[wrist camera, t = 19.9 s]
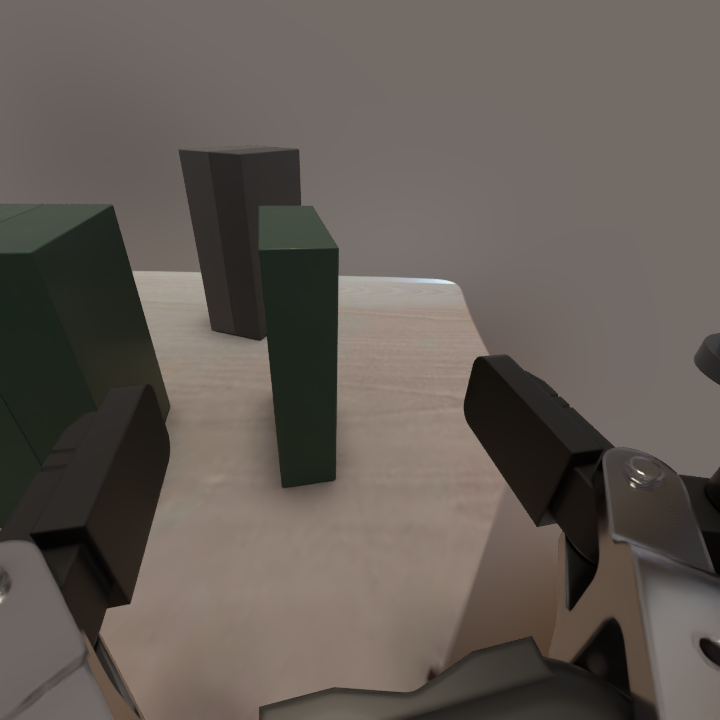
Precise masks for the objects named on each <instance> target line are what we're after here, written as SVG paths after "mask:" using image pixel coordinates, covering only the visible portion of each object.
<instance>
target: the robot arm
mask: <svg viewBox="0 0 720 720" xmlns="http://www.w3.org/2000/svg"><path fill="white" fill-rule="evenodd" d="M464 414H465V418H466V421H467V423H468V425H469V426H470V428H471V429H472V431H473V432H474V434H475V435H476V437H477V438H478V440H479V441H480V443H481V444H482V446H483V447H484V449H485V450H486V452H487V453H488V455H489V456H490V458H491V459H492V461H493V462H494V464H495V465H496V467H497V468H498V470H499V471H500V473H501V474H502V476H503V477H504V479H505V480H506V482H507V483H508V484H509V486H510V487H511V489H512V490H513V492H514V493H515V495H516V496H517V498H518V499H519V501H520V502H521V504H522V505H523V507H524V508H525V510H526V511H527V513H528V514H529V516H530V517H531V519H532V520H533V522H534V523H535V525H536V526H537V527H540V526H545V525H550V524H555V523H557V524H558V525H559V526H560V528H561V529H562V532H561V534H560V536H559V540H558V598H557V599H558V600H557V623H556V628H555V632H554V635H553V638H552V642H551V646H550V650H549V656H548V657H545V656H542V654H541V652H540V650H539V648H538V646H537V645H536V643H535V641H534V639H533V637H532V636H530V637H526V638H522V639H519V640H515V641H511V642H507V643H503V644H499V645H495V646H492V647H488V648H484V649H480V650H476V651H472V652H471V653H470V654H468V655H467V656H465V657H464V658H462V659H461V660H459V661H458V662H457V663H455V664H454V665H452V666H451V667H449V668H448V669H447V670H445V671H444V672H442V673H441V674H439V675H438V676H436V677H435V678H434V679H432V680H431V681H429V682H428V683H426V684H425V685H423V686H422V687H421V688H419V689H417V690H415V691H413V692H405V693H404V692H390V691H377V690H363V689H350V688H336V687H334V688H330V689H326V690H322V691H319V692H315V693H311V694H307V695H303V696H299V697H295V698H292V699H288V700H284V701H280V702H276V703H272V704H269V705H265V706H261V707H259V720H720V467H719V469H718V470H717V471H716V472H715V474H714V475H713V476H712V477H711V479H709V478H702V477H694V476H686V475H678V474H677V473H676V472H675V471H674V470H673V469H672V468H671V467H669V466H668V465H667V464H665V463H664V462H662V461H661V460H659V459H657V458H656V457H653V456H652V455H649V454H647V453H645V452H642V451H639V450H636V449H631V448H624V447H623V448H622V447H618V448H615V447H614V446H613V445H612V444H611V443H610V442H609V441H608V440H607V439H605V438H604V437H603V436H602V435H601V434H600V433H599V432H598V431H597V430H596V429H595V428H594V427H593V426H592V425H591V424H589V423H588V422H587V421H586V420H585V419H584V418H583V417H582V416H581V415H580V414H579V413H578V412H577V411H576V410H575V409H573V408H570V407H569V404H568V403H567V402H566V401H565V400H564V399H563V398H562V397H558V394H557V393H556V392H555V391H554V390H553V389H552V388H551V387H550V386H549V385H548V384H546V382H545V381H543V380H541V379H539V378H538V377H536V376H534V375H532V374H530V373H529V372H527V371H524V370H523V369H522V368H521V367H520V366H519V365H518V364H517V363H516V362H515V361H514V360H513V359H511V357H509V356H508V355H493V356H481V357H477V358H476V359H475V361H474V363H473V367H472V371H471V375H470V379H469V383H468V388H467V392H466V396H465V400H464ZM51 451H52V454H49V455H48V457H47V458H46V460H45V461H44V463H43V465H42V466H41V472H38V473H37V474H36V476H35V477H34V479H33V481H32V482H31V484H30V485H29V487H28V488H27V490H26V492H25V493H24V495H23V496H22V498H21V500H20V501H19V503H18V504H17V506H16V508H15V509H14V511H13V512H12V514H11V516H10V517H9V519H8V520H7V522H6V523H5V525H4V527H3V528H2V530H1V531H0V720H145V718H144V716H143V714H142V712H141V710H140V709H139V707H138V705H137V703H136V701H135V699H134V697H133V695H132V693H131V691H130V689H129V687H128V686H127V684H126V682H125V680H124V678H123V676H122V674H121V672H120V670H119V668H118V666H117V664H116V663H115V661H114V659H113V657H112V655H111V653H110V651H109V649H108V647H107V645H106V643H105V641H104V640H103V638H102V636H101V634H100V633H99V631H100V628H101V625H102V622H103V619H104V616H105V612H106V609H107V608H112V607H117V606H122V605H127V604H130V603H131V599H132V596H133V592H134V588H135V585H136V581H137V577H138V573H139V570H140V566H141V562H142V559H143V555H144V551H145V547H146V544H147V540H148V536H149V533H150V529H151V525H152V521H153V518H154V514H155V510H156V507H157V503H158V499H159V495H160V492H161V488H162V484H163V481H164V477H165V473H166V469H167V466H168V462H169V456H170V441H169V435H168V432H167V428H166V425H165V422H164V419H163V416H162V412H161V409H160V406H159V403H158V400H157V396H156V393H155V391H154V388H153V387H152V386H151V385H150V384H147V385H135V386H124V387H113V388H111V389H110V390H109V391H108V393H107V394H106V396H105V398H104V400H103V402H102V403H101V405H100V407H99V409H98V411H97V412H89V413H85V414H83V415H82V416H81V417H80V418H79V419H77V420H76V421H75V422H74V423H72V424H71V425H70V426H69V427H68V428H66V429H65V430H64V431H63V433H62V434H61V436H60V438H59V439H58V441H57V442H56V444H55V446H54V447H53V449H52V450H51Z"/></svg>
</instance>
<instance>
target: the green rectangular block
mask: <svg viewBox="0 0 720 720" xmlns="http://www.w3.org/2000/svg"><path fill="white" fill-rule="evenodd" d="M147 384H150V385H151V386H152V387H153V388H154V391H155V393H156V396H157V400H158V403H159V406H160V409H161V412H162V416H163V419H164V422H165V420H166V417H167V413H168V410H169V407H170V403H169V400H168V396H167V393H166V389H165V386H164V382H163V379H162V375H161V372H160V368H159V365H158V361H157V358H156V354H155V351H154V347H153V344H152V340H151V337H150V333H149V330H148V326H147V323H146V319H145V316H144V312H143V309H142V305H141V302H140V298H139V295H138V291H137V288H136V284H135V281H134V277H133V274H132V270H131V267H130V263H129V260H128V256H127V253H126V249H125V246H124V242H123V239H122V235H121V232H120V229H119V225H118V221H117V218H116V214H115V211H114V207H113V205H112V204H111V205H110V204H107V205H105V204H0V527H2V528H3V527H4V525H5V523H6V522H7V520H8V519H9V517H10V516H11V514H12V512H13V511H14V509H15V508H16V506H17V504H18V503H19V501H20V500H21V498H22V496H23V495H24V493H25V492H26V490H27V488H28V487H29V485H30V484H31V482H32V481H33V479H34V477H35V476H36V474H37V473H38V472H41V466H42V465H43V463H44V461H45V460H46V458H47V457H48V455H49V454H52V451H51V450H52V449H53V447H54V446H55V444H56V442H57V441H58V439H59V438H60V436H61V434H62V433H63V431H64V430H65V429H66V428H68V427H69V426H70V425H71V424H72V423H74V422H75V421H76V420H77V419H79V418H80V417H81V416H82V415H83V414H85V413H89V412H97V411H98V409H99V407H100V405H101V403H102V402H103V400H104V398H105V396H106V394H107V393H108V391H109V390H110V389H111V388H113V387H124V386H135V385H147Z"/></svg>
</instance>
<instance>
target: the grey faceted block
mask: <svg viewBox="0 0 720 720" xmlns="http://www.w3.org/2000/svg"><path fill="white" fill-rule="evenodd" d="M179 155H180V161H181V166H182V171H183V177H184V182H185V188H186V193H187V198H188V204H189V209H190V215H191V220H192V225H193V231H194V236H195V242H196V246H197V252H198V258H199V263H200V269H201V274H202V279H203V285H204V290H205V296H206V301H207V306H208V312H209V317H210V323H211V328H212V330H215V331H220V332H224V333H229V334H234V335H238V336H243V337H248V338H252V339H257V340H261V339H262V338H264V337H265V336H266V335H267V332H266V322H265V312H264V302H263V292H262V282H261V272H260V262H259V252H258V217H259V206H301V192H300V191H301V189H300V164H299V163H300V161H299V149H293V148H292V149H291V148H278V147H266V146H265V147H264V146H251V145H245V146H228V147H227V146H226V147H208V148H191V149H179Z"/></svg>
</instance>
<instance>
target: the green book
mask: <svg viewBox="0 0 720 720" xmlns="http://www.w3.org/2000/svg"><path fill="white" fill-rule="evenodd" d="M258 252H259V262H260V272H261V282H262V292H263V302H264V312H265V322H266V332H267V342H268V352H269V362H270V372H271V382H272V392H273V402H274V412H275V422H276V432H277V442H278V452H279V462H280V472H281V482H282V487H290V486H296V485H303V484H310V483H316V482H323V481H330V480H335V479H336V420H337V344H338V269H339V267H338V266H339V248H338V246H337V245H336V243H335V241H334V240H333V238H332V237H331V235H330V234H329V232H328V230H327V229H326V227H325V225H324V224H323V222H322V220H321V219H320V217H319V216H318V214H317V212H316V211H315V209H314V208H313V206H259V217H258Z"/></svg>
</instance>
